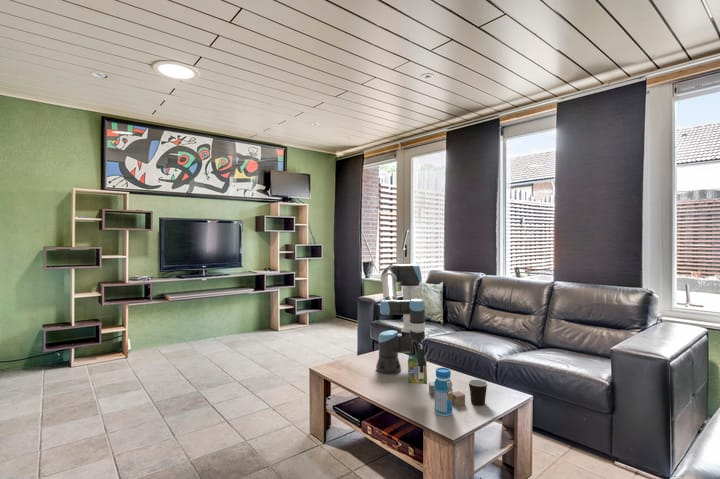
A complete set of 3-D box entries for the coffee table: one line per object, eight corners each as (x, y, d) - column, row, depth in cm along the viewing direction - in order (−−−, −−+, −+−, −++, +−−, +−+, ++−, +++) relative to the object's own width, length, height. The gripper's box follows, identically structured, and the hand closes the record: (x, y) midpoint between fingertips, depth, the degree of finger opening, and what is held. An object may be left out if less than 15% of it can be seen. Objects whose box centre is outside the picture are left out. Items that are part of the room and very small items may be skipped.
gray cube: (428, 391, 205) (428, 381, 205) (438, 391, 204) (438, 381, 204) (430, 395, 200) (430, 385, 200) (439, 395, 199) (439, 385, 199)
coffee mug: (484, 408, 184) (484, 387, 183) (466, 404, 188) (466, 384, 188) (490, 399, 193) (490, 379, 193) (473, 395, 198) (473, 376, 198)
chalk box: (426, 384, 188) (426, 354, 188) (407, 383, 190) (407, 353, 189) (427, 377, 197) (427, 348, 197) (409, 376, 199) (408, 347, 199)
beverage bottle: (436, 416, 176) (435, 373, 176) (432, 408, 184) (432, 366, 184) (454, 416, 176) (454, 372, 176) (450, 408, 184) (450, 366, 184)
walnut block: (450, 402, 191) (450, 392, 190) (458, 400, 192) (458, 390, 192) (456, 406, 186) (456, 396, 186) (465, 404, 188) (464, 394, 188)
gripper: (403, 325, 204) (404, 366, 204) (416, 337, 181) (417, 383, 182) (417, 324, 205) (418, 365, 206) (432, 336, 182) (432, 382, 183)
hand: (417, 374), depth 194 cm, fingers closed on chalk box, 11 cm apart
